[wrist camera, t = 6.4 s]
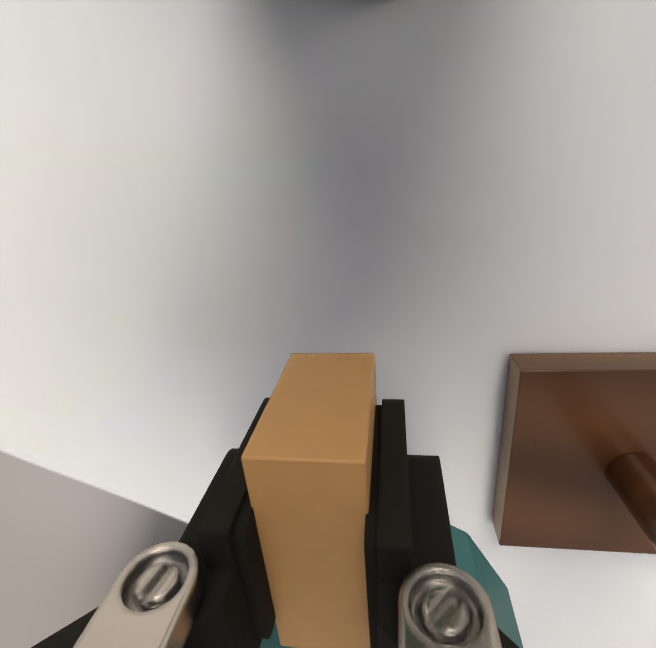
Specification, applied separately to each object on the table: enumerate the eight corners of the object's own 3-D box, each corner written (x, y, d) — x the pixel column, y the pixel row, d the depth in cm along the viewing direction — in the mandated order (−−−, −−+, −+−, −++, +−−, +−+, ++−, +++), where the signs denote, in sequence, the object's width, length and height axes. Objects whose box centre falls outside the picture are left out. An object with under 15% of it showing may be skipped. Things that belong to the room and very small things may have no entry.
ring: (155, 353, 10) (42, 448, 7) (541, 351, 9) (631, 473, 5) (242, 663, 15) (202, 802, 12) (491, 696, 14) (522, 864, 11)
